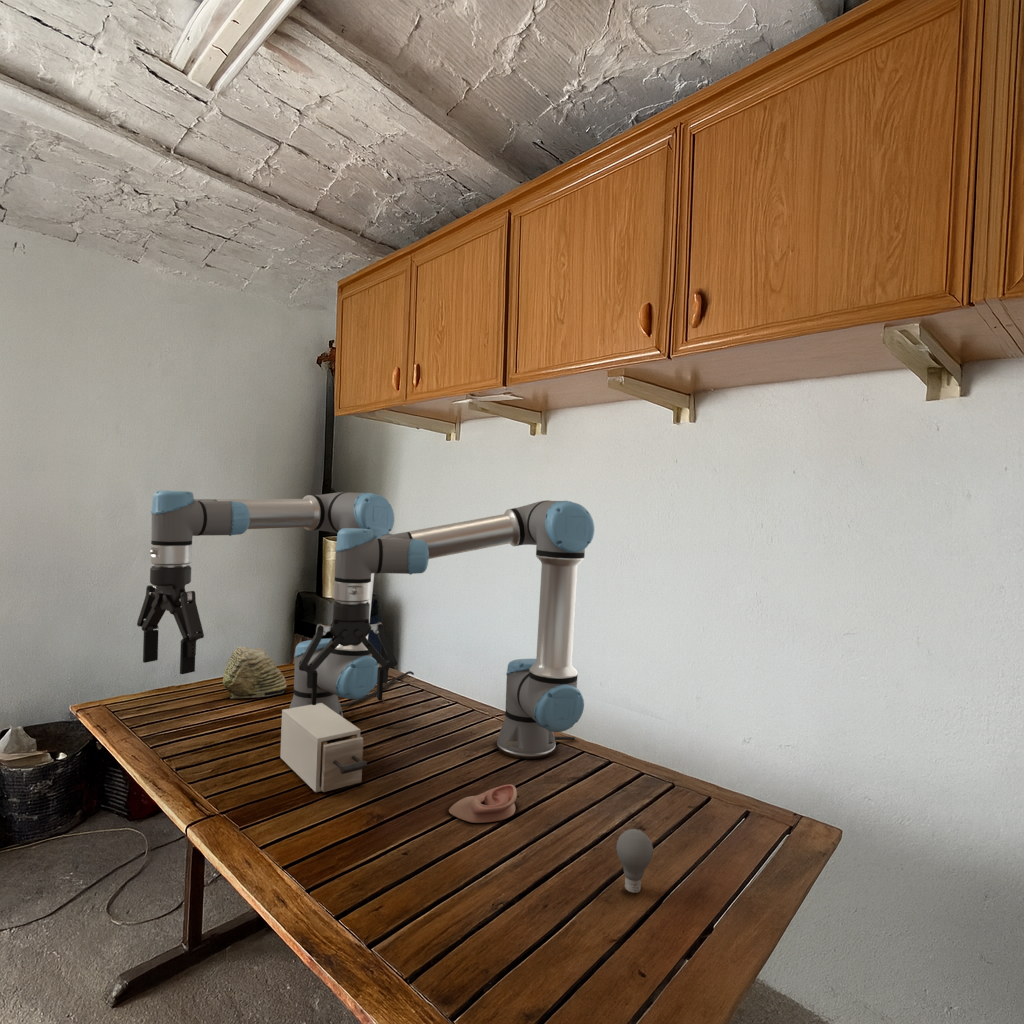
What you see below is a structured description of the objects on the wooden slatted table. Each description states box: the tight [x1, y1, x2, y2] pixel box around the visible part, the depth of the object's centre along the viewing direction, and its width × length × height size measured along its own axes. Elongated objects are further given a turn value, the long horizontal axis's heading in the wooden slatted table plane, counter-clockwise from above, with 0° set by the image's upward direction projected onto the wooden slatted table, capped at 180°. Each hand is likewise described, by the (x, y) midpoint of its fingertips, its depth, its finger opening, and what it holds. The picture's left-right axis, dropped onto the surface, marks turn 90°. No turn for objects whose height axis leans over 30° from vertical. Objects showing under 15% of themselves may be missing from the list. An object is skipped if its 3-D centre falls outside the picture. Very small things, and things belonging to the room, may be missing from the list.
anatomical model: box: [448, 783, 518, 824], centre depth 131 cm, size 13×4×12 cm
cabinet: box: [279, 703, 361, 793], centre depth 147 cm, size 22×10×12 cm, turn 39°
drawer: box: [320, 735, 368, 793], centre depth 142 cm, size 26×9×10 cm, turn 39°
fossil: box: [222, 646, 288, 699], centre depth 198 cm, size 9×18×15 cm, turn 132°
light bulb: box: [615, 828, 654, 894], centre depth 106 cm, size 6×6×10 cm
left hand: (168, 667), depth 132 cm, fingers open, 13 cm apart
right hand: (347, 701), depth 134 cm, fingers open, 13 cm apart
